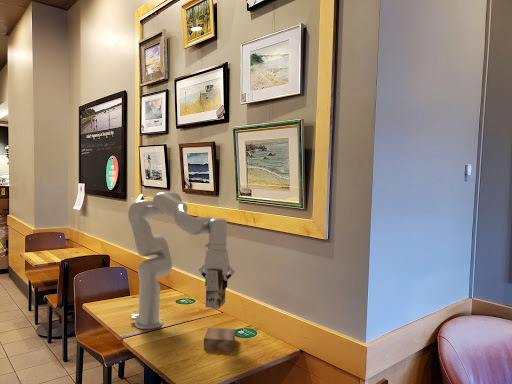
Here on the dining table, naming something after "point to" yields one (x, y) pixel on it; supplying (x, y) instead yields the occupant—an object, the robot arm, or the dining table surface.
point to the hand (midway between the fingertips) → (216, 288)
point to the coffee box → (214, 289)
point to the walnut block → (219, 339)
